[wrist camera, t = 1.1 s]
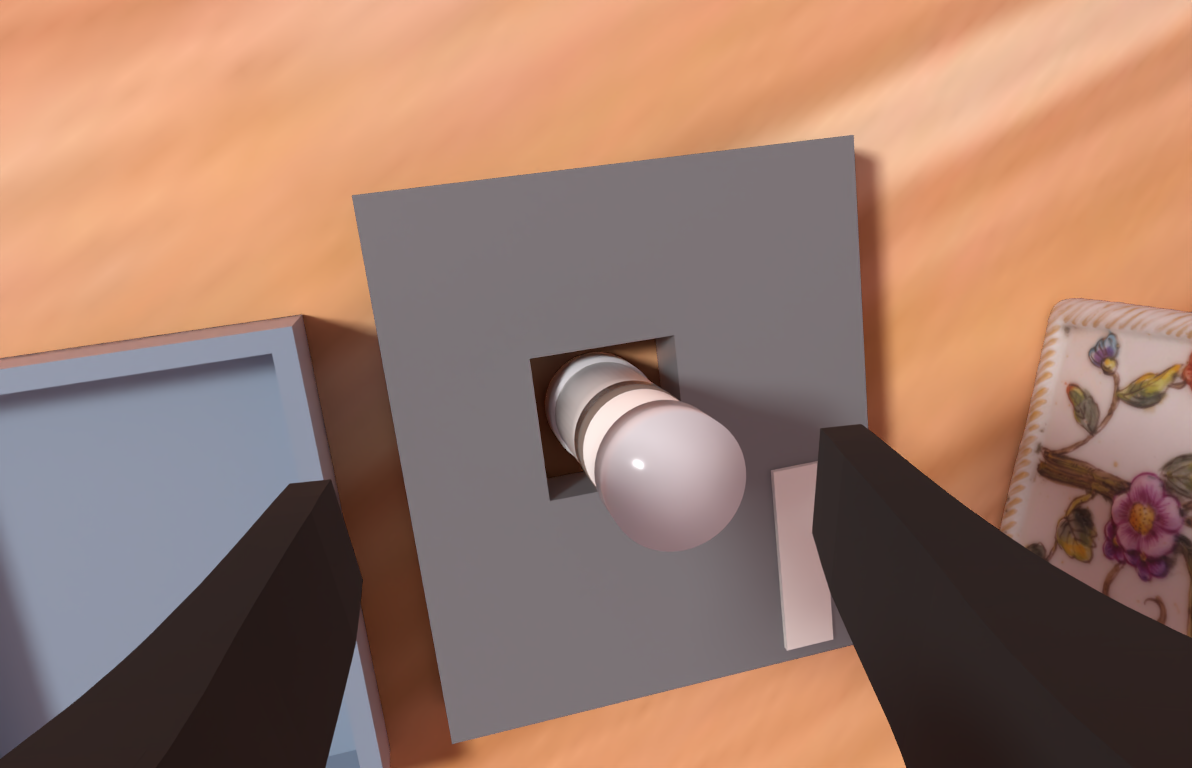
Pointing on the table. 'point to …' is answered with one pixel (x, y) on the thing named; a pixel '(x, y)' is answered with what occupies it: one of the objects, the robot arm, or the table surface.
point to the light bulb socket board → (687, 371)
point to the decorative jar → (1111, 456)
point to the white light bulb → (646, 452)
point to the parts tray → (148, 503)
